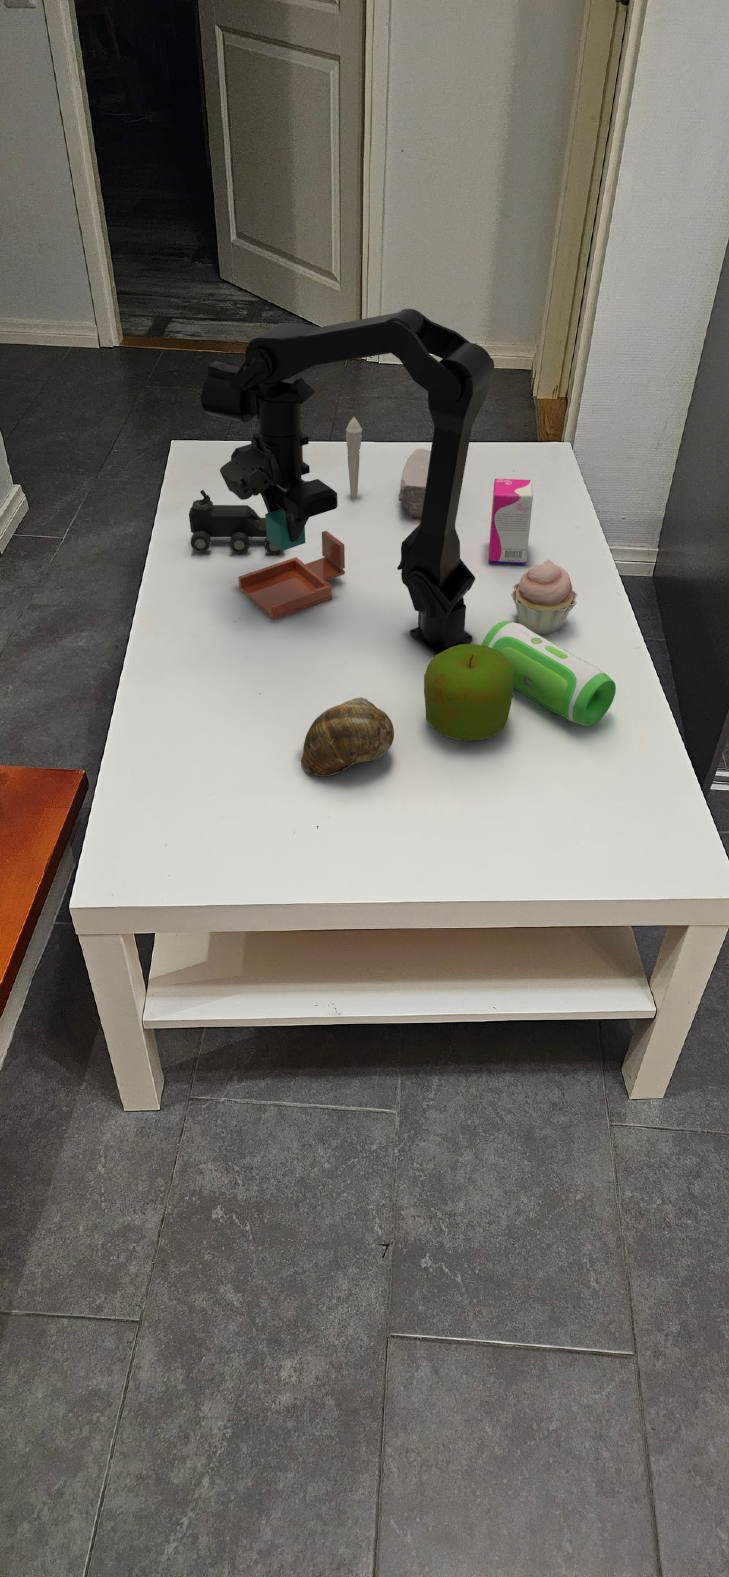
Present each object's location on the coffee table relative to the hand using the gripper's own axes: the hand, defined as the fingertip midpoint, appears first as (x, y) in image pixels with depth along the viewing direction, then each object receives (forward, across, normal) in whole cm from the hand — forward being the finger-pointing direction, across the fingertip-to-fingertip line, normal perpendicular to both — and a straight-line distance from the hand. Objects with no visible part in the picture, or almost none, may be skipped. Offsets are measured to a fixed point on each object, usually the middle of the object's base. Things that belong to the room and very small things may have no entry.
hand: (286, 534), depth 152 cm
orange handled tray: (+10, -1, +2) cm, 10 cm away
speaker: (+10, +40, +14) cm, 43 cm away
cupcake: (+10, +26, +26) cm, 38 cm away
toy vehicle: (+10, -18, +2) cm, 20 cm away
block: (+1, 0, 0) cm, 1 cm away
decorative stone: (+10, -11, +34) cm, 37 cm away
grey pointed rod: (+10, -20, +25) cm, 33 cm away
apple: (+10, +38, +2) cm, 40 cm away
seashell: (+10, +35, -14) cm, 39 cm away
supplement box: (+10, +10, +34) cm, 36 cm away
